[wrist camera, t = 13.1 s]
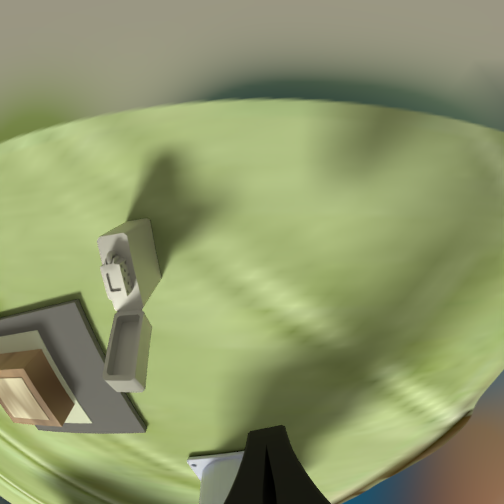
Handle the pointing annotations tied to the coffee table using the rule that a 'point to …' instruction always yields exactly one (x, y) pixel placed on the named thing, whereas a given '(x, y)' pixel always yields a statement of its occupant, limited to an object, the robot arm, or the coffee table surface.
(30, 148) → the coffee table surface
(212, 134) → the coffee table surface
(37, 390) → the slab
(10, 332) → the mat
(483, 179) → the coffee table surface
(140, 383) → the lighter
